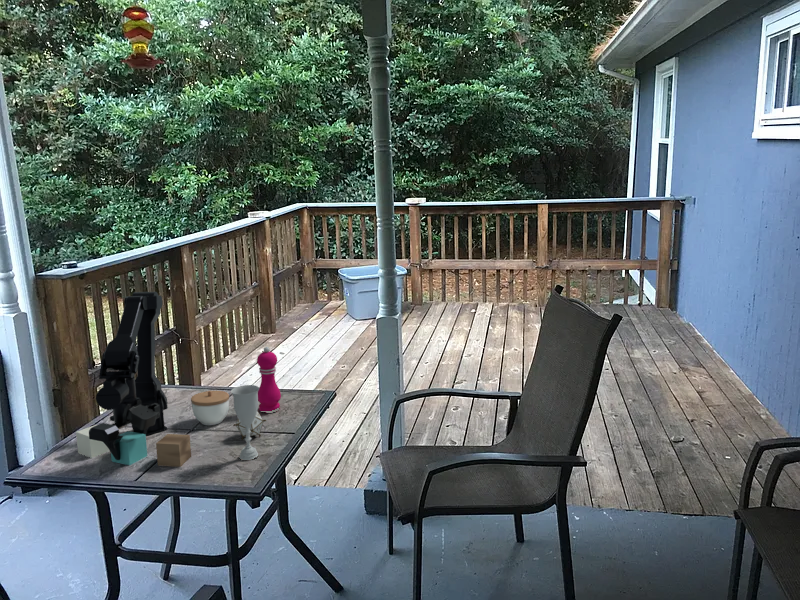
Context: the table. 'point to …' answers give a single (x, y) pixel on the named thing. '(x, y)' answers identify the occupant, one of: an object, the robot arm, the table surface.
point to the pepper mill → (268, 381)
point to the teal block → (131, 448)
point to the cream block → (89, 444)
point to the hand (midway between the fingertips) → (129, 454)
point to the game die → (251, 426)
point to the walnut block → (173, 450)
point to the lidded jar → (210, 406)
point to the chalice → (246, 414)
